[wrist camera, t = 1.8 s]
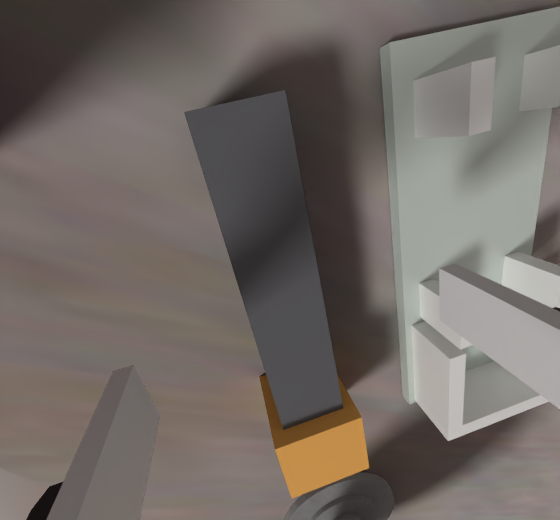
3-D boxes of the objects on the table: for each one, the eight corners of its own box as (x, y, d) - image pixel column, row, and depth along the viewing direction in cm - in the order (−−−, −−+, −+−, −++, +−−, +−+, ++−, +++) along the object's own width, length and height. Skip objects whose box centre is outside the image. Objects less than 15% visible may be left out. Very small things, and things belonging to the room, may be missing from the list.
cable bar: (177, 124, 16) (160, 113, 10) (277, 102, 16) (311, 80, 11) (273, 420, 25) (291, 498, 19) (334, 398, 25) (369, 467, 20)
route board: (379, 48, 16) (445, 10, 12) (548, 12, 18) (666, -35, 13) (402, 395, 27) (441, 446, 22) (506, 357, 28) (563, 398, 24)
